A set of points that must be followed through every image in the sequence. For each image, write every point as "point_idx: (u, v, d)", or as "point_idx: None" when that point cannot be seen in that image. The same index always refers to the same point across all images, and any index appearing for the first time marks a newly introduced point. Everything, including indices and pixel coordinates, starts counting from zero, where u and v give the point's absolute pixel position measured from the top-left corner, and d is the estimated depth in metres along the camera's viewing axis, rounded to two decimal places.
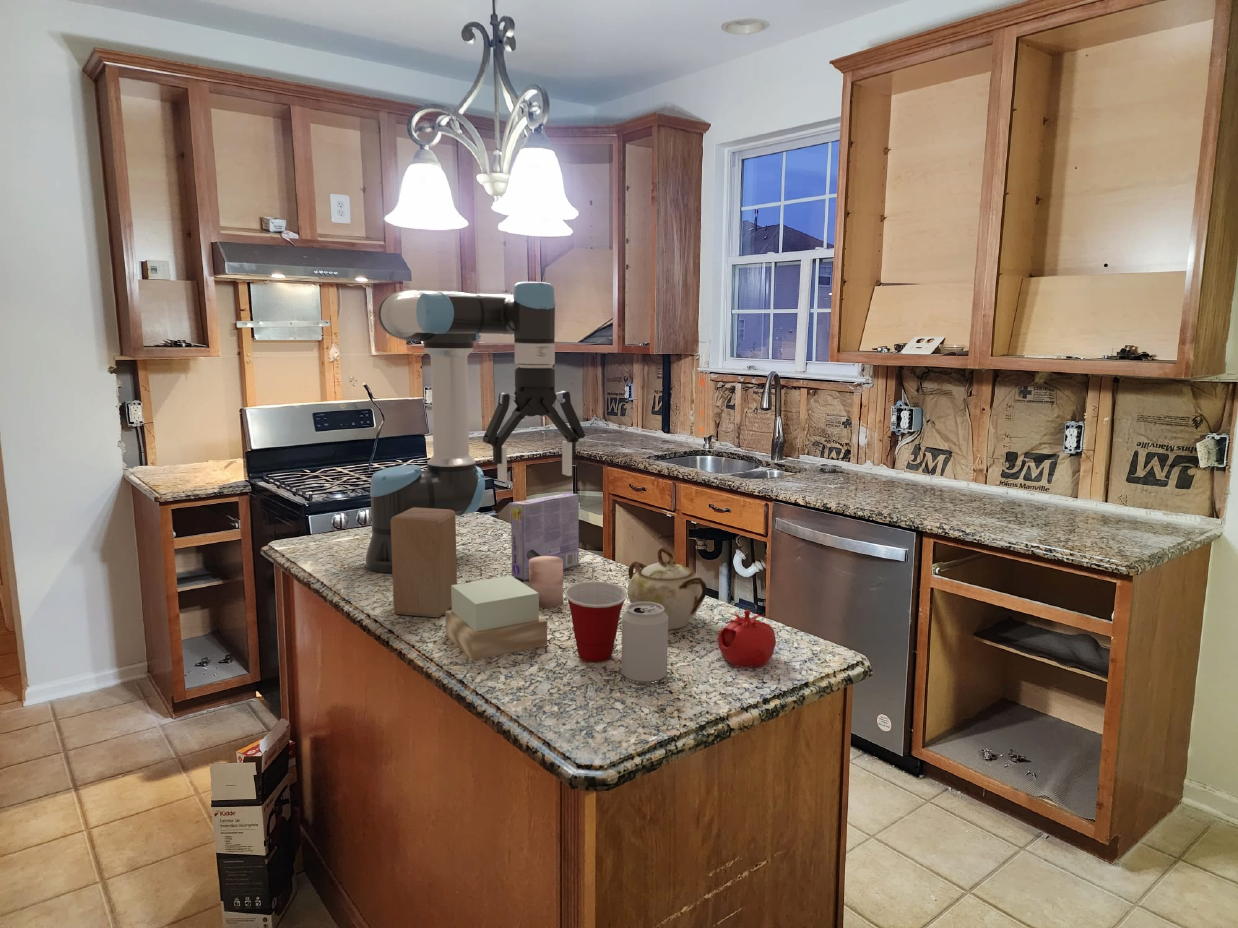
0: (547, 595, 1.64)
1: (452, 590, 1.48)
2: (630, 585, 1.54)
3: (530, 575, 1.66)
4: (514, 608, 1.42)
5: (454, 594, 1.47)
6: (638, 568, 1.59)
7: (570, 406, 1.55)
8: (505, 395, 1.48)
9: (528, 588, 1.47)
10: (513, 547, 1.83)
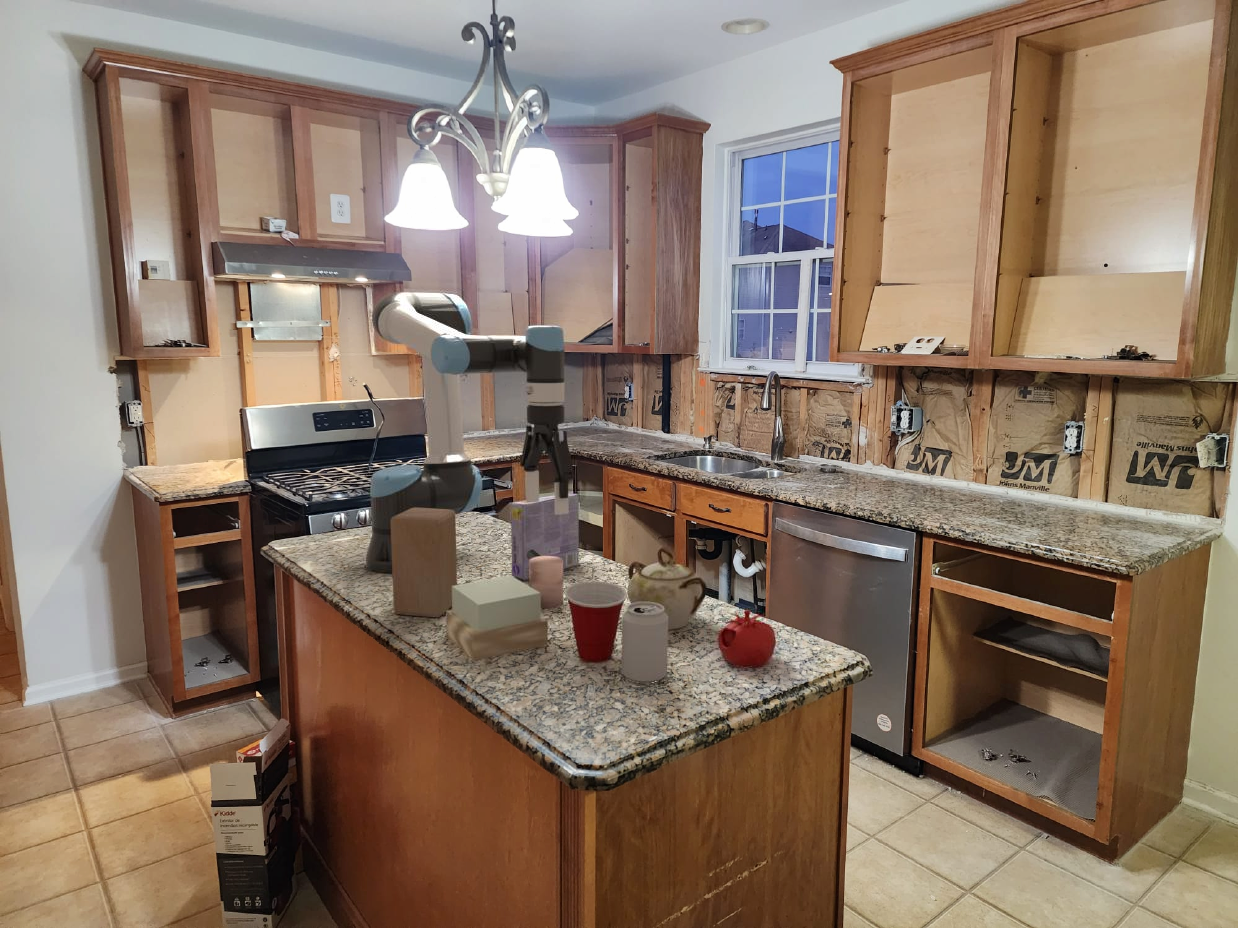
0: (547, 595, 1.64)
1: (453, 591, 1.47)
2: (630, 585, 1.54)
3: (530, 575, 1.66)
4: (516, 608, 1.42)
5: (455, 595, 1.47)
6: (638, 568, 1.59)
7: (555, 446, 1.56)
8: (526, 426, 1.67)
9: (529, 588, 1.47)
10: (513, 547, 1.83)
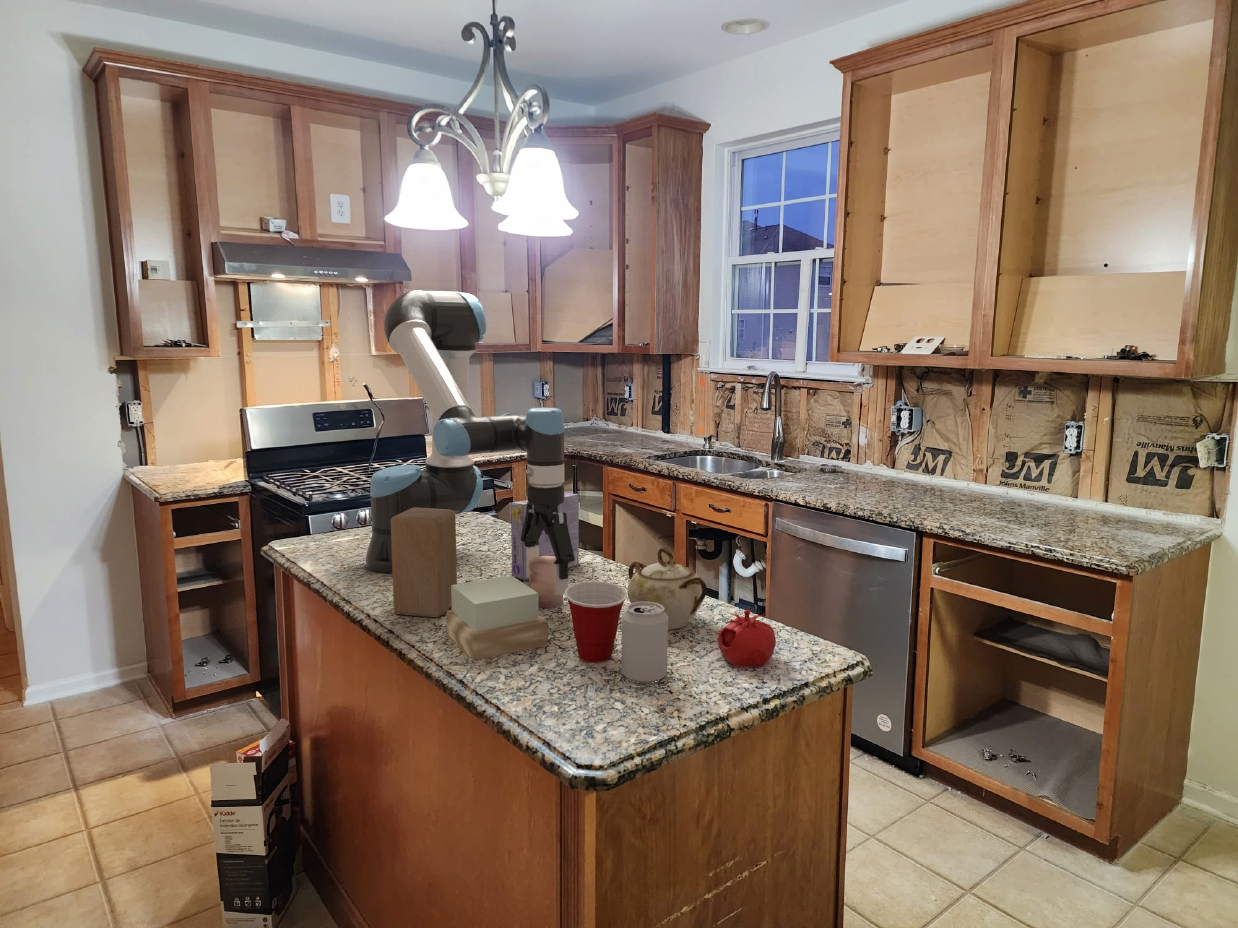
0: (547, 595, 1.64)
1: (452, 590, 1.48)
2: (630, 585, 1.54)
3: (530, 575, 1.66)
4: (514, 608, 1.42)
5: (454, 594, 1.47)
6: (638, 568, 1.59)
7: (555, 528, 1.59)
8: (527, 503, 1.70)
9: (528, 588, 1.47)
10: (513, 547, 1.83)
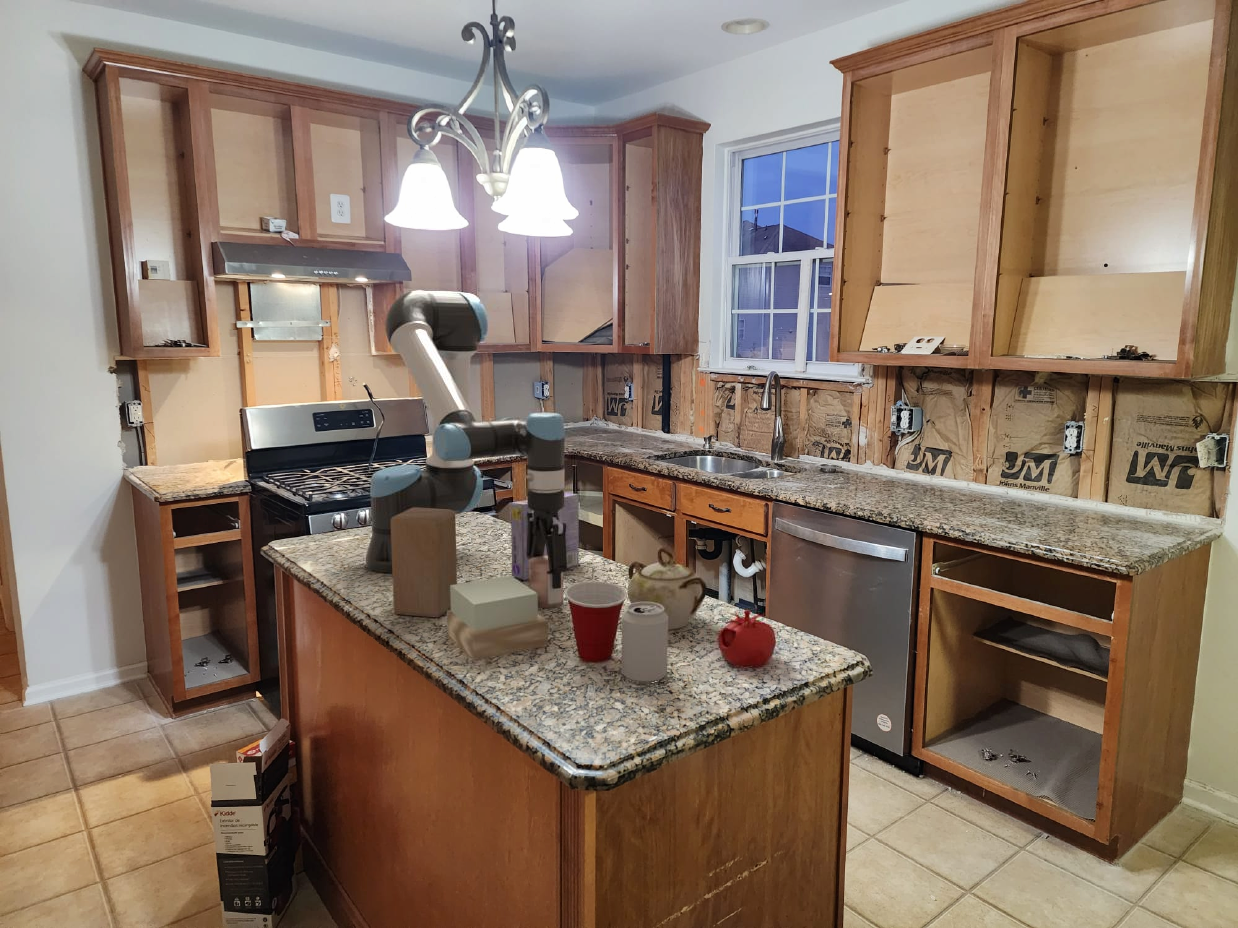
0: (547, 595, 1.64)
1: (451, 590, 1.48)
2: (630, 585, 1.54)
3: (530, 575, 1.66)
4: (513, 608, 1.42)
5: (453, 594, 1.47)
6: (638, 568, 1.59)
7: (553, 538, 1.60)
8: (527, 514, 1.70)
9: (527, 588, 1.47)
10: (513, 547, 1.83)
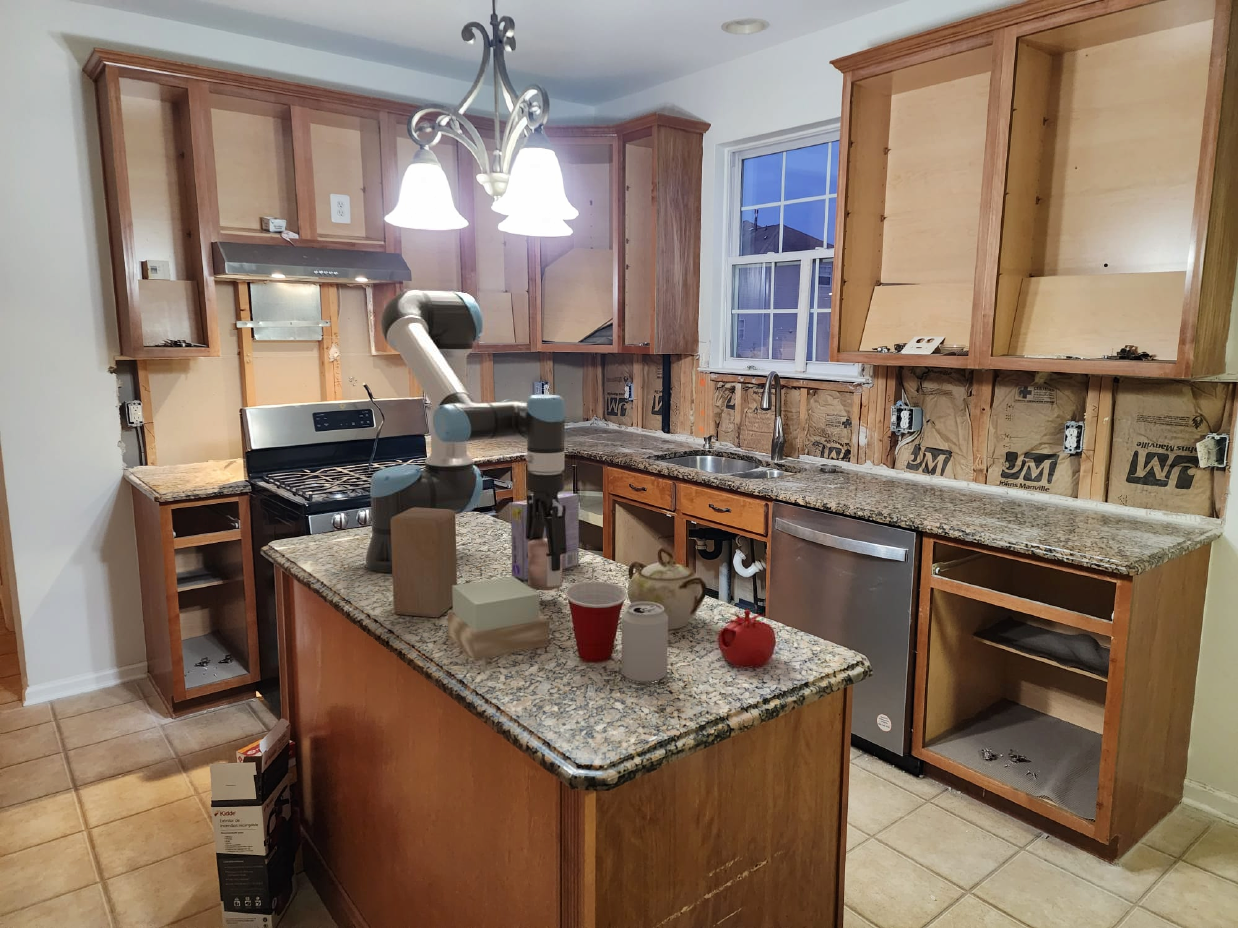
0: (546, 577, 1.64)
1: (453, 590, 1.48)
2: (630, 585, 1.54)
3: (529, 557, 1.65)
4: (514, 608, 1.42)
5: (455, 594, 1.47)
6: (638, 568, 1.59)
7: (553, 520, 1.60)
8: (526, 496, 1.70)
9: (529, 589, 1.46)
10: (513, 547, 1.83)
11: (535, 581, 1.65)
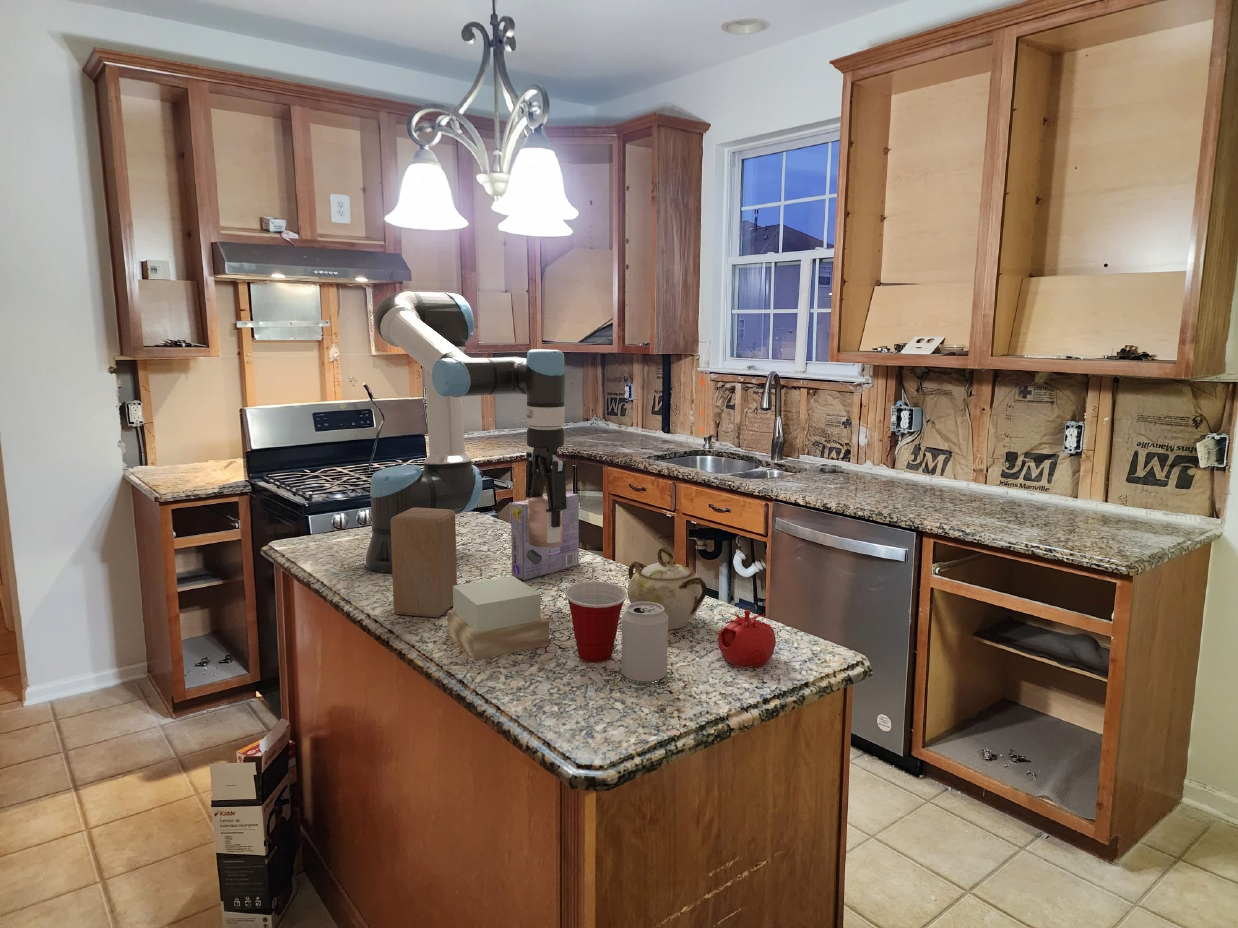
0: (546, 534, 1.62)
1: (454, 591, 1.47)
2: (630, 585, 1.54)
3: (529, 514, 1.64)
4: (516, 608, 1.42)
5: (456, 594, 1.47)
6: (638, 568, 1.59)
7: (553, 475, 1.58)
8: (526, 453, 1.68)
9: (530, 589, 1.46)
10: (513, 547, 1.83)
11: (535, 538, 1.63)
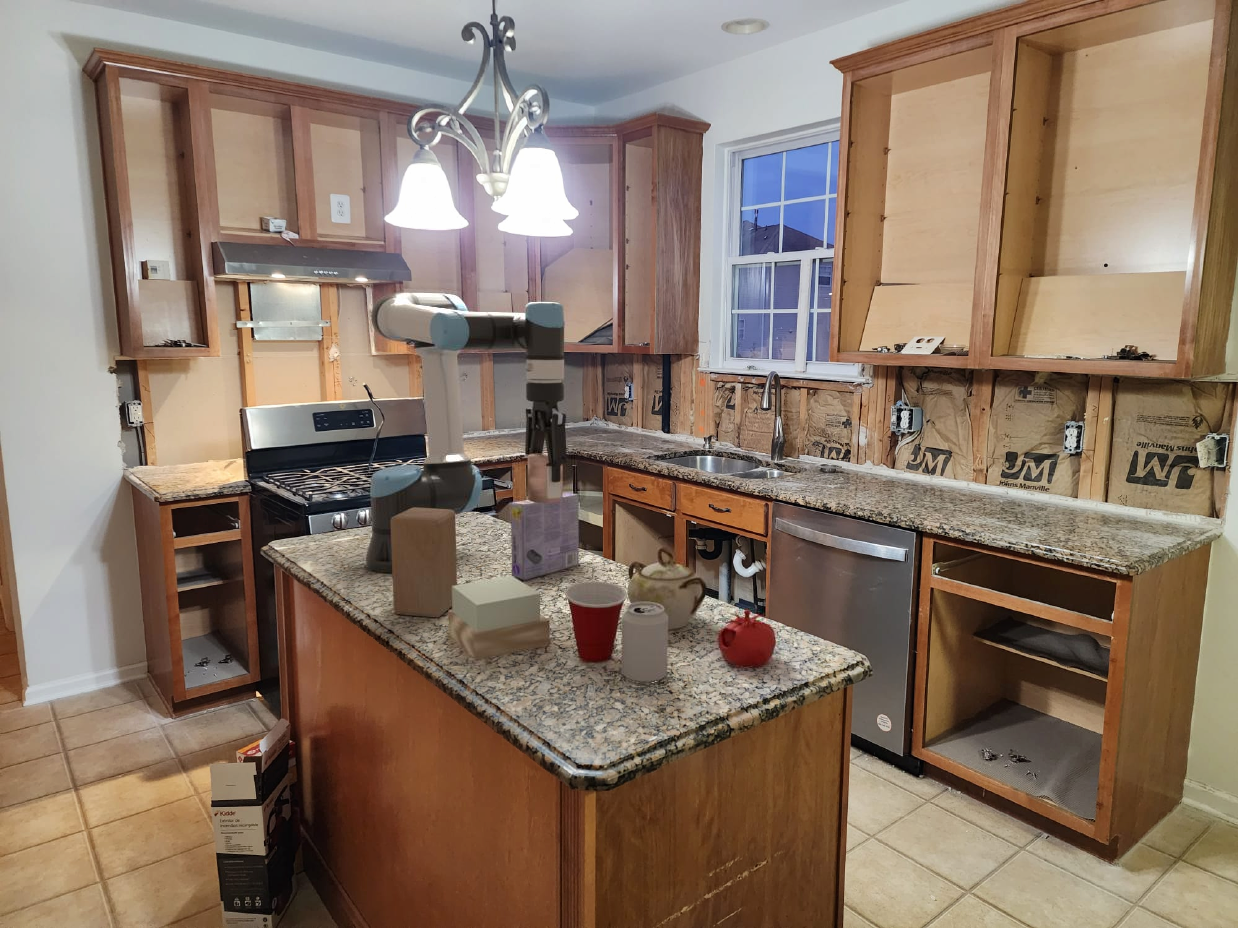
0: (546, 489, 1.61)
1: (453, 591, 1.47)
2: (630, 585, 1.54)
3: (529, 470, 1.62)
4: (515, 608, 1.42)
5: (455, 595, 1.46)
6: (638, 568, 1.59)
7: (553, 429, 1.56)
8: None
9: (529, 588, 1.46)
10: (513, 547, 1.83)
11: (535, 493, 1.61)
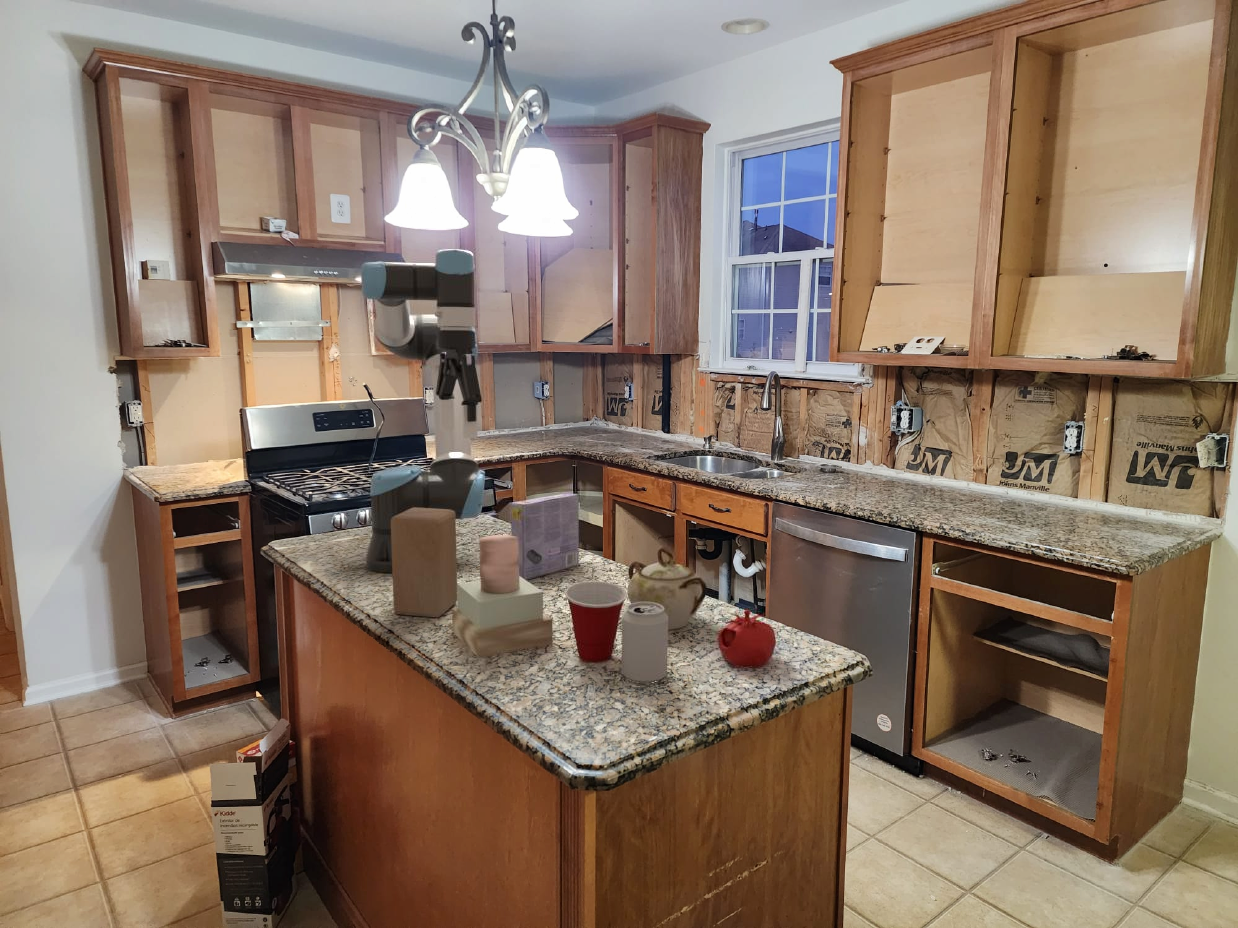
0: (500, 578, 1.43)
1: (458, 588, 1.49)
2: (630, 585, 1.54)
3: (480, 556, 1.44)
4: (518, 606, 1.43)
5: (459, 592, 1.48)
6: (638, 568, 1.59)
7: (463, 369, 1.57)
8: (440, 354, 1.68)
9: (533, 587, 1.47)
10: None
11: (487, 583, 1.44)
